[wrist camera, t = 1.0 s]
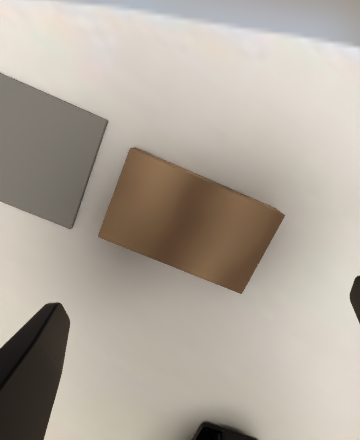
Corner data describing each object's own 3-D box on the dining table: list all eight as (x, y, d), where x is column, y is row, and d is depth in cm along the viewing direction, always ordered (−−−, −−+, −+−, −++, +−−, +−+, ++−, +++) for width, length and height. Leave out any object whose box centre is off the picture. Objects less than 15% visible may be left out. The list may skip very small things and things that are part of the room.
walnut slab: (276, 208, 22) (285, 215, 20) (237, 281, 24) (241, 294, 22) (135, 147, 21) (130, 148, 19) (105, 228, 23) (97, 236, 21)
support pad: (72, 227, 23) (70, 229, 23) (-37, 184, 22) (-41, 185, 22) (108, 120, 21) (106, 120, 20) (-12, 67, 20) (-16, 66, 19)
